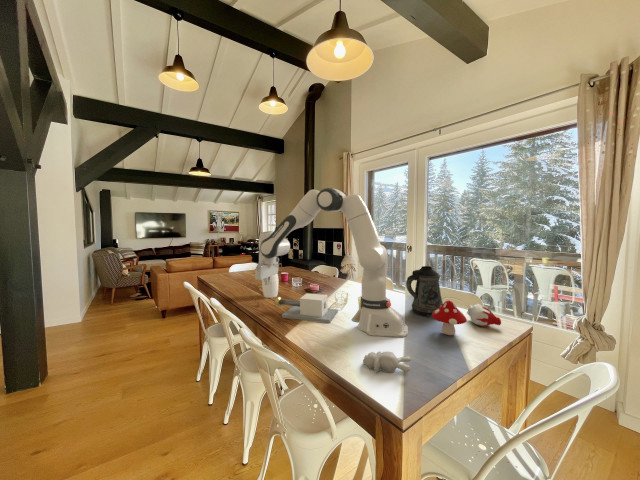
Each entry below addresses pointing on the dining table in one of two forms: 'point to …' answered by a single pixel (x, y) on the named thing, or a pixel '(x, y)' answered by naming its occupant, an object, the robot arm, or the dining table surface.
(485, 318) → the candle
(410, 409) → the dining table surface
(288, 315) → the bearing block
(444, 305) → the decorative mushroom
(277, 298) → the shaft
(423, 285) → the beer stein
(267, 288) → the bottle
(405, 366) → the bunny figurine
